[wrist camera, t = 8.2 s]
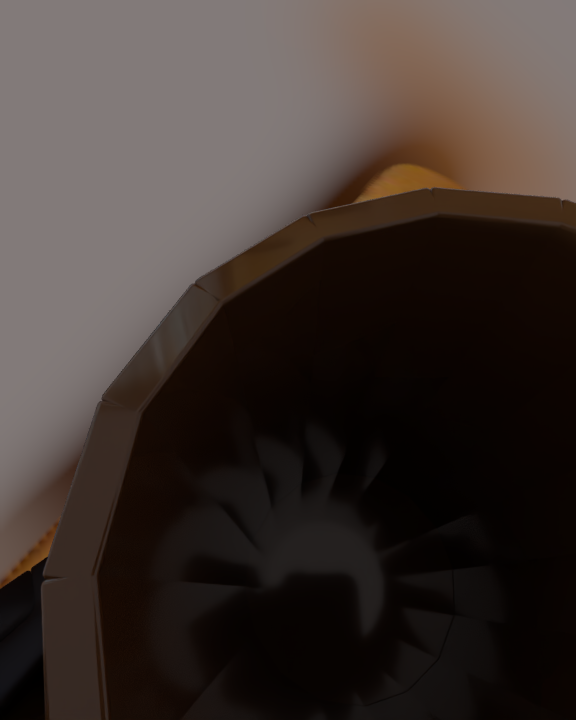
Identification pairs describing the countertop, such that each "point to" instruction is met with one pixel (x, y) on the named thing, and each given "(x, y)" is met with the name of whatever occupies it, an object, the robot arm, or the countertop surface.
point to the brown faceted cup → (337, 481)
